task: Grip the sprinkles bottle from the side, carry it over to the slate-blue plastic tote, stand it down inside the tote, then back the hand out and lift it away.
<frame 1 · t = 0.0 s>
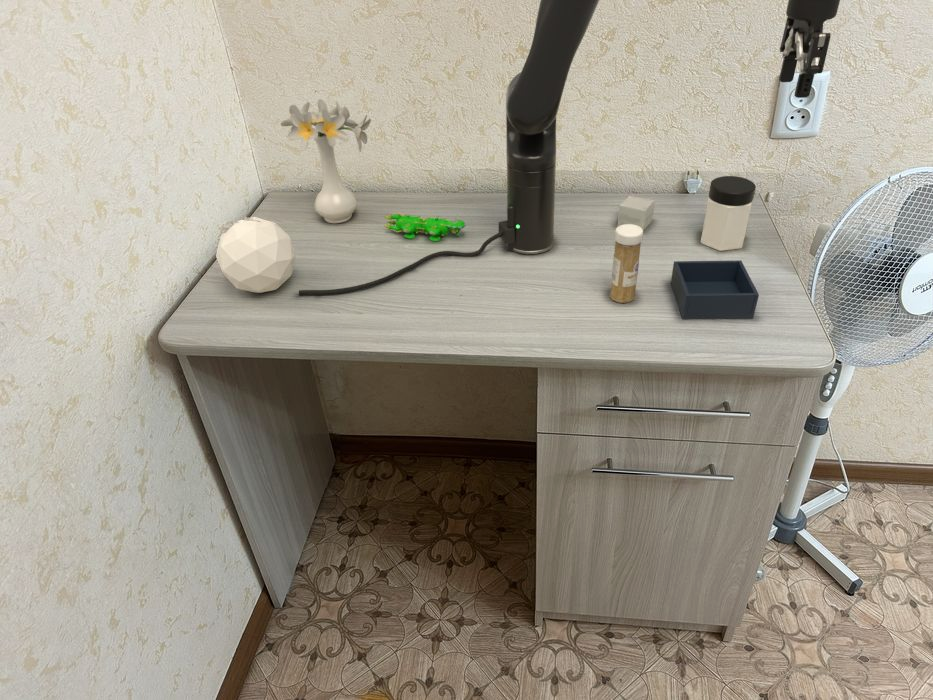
hand: (793, 89, 118), 29 cm above the table, tool pointing down, fingers open, 8 cm apart
flower vase: (341, 217, 154), on the table
geodesic sphere: (265, 287, 131), on the table
small box: (634, 224, 144), on the table
sprinkles bottle: (622, 297, 122), on the table
tote: (710, 300, 120), on the table
jar: (721, 241, 137), on the table
crocodile figurine: (425, 234, 145), on the table
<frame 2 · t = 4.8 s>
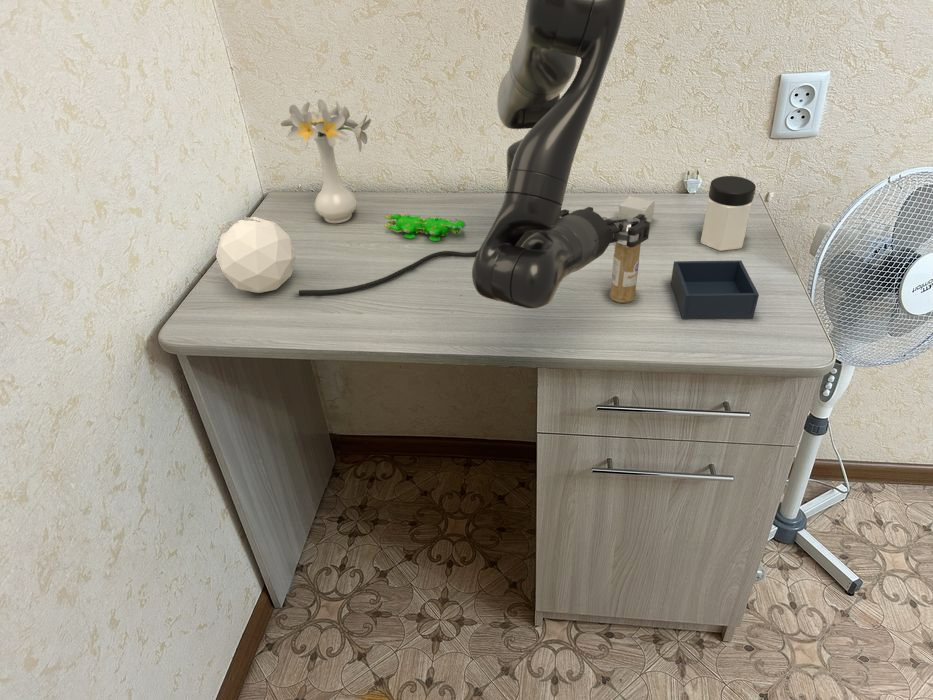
hand: (616, 216, 108), 18 cm above the table, tool horizontal, fingers open, 8 cm apart
nothing on the table moved.
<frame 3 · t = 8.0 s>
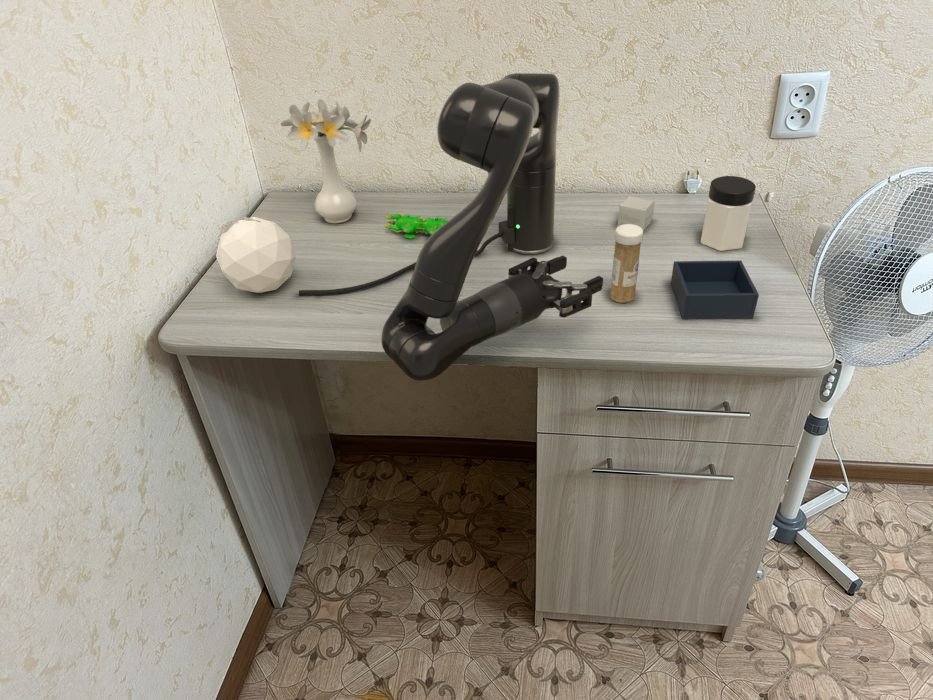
hand: (582, 271, 112), 9 cm above the table, tool horizontal, fingers open, 8 cm apart
nothing on the table moved.
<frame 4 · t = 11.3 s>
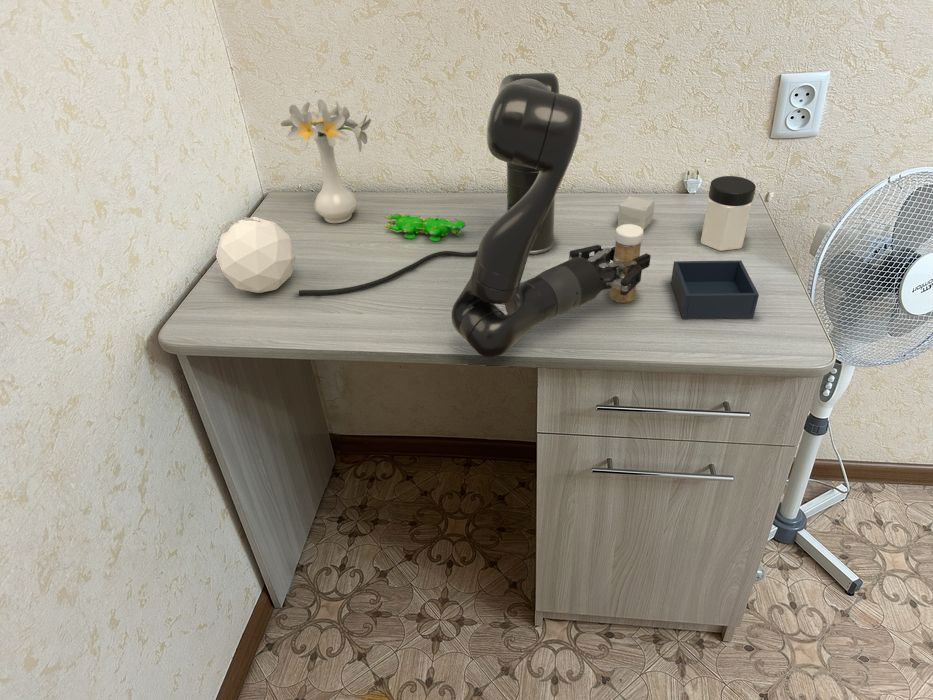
hand: (637, 253, 119), 8 cm above the table, tool horizontal, fingers closed on sprinkles bottle, 4 cm apart
sprinkles bottle: (622, 297, 122), on the table, touching gripper
everything else where it was.
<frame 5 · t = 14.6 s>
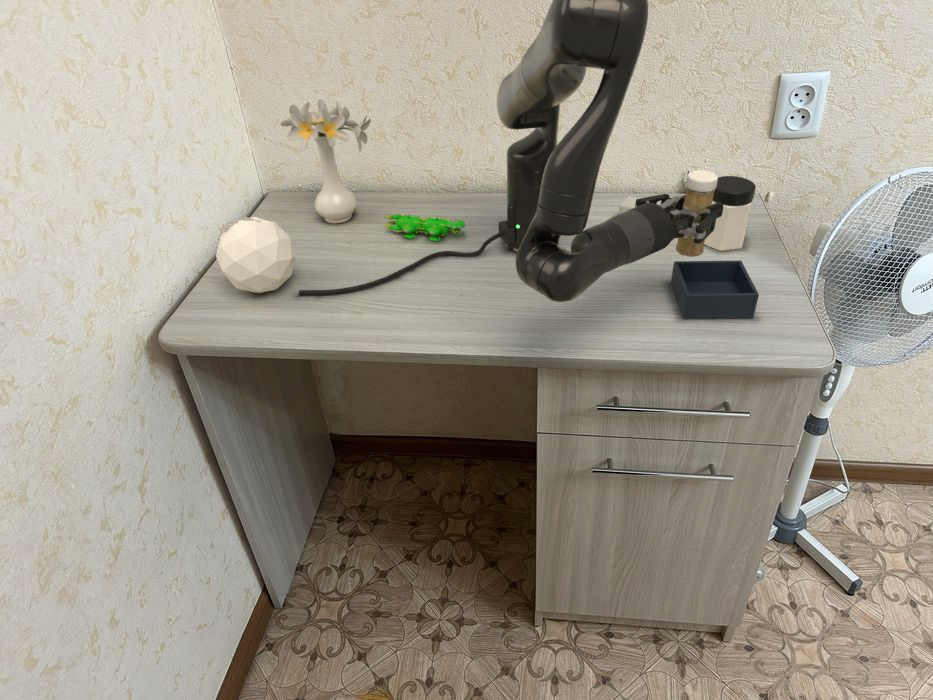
hand: (707, 203, 111), 18 cm above the table, tool horizontal, fingers closed on sprinkles bottle, 4 cm apart
sprinkles bottle: (688, 252, 115), point 10 cm above the table, touching gripper
everything else where it was.
when the fingers open (9 cm above the table, at t = 18.1 s): sprinkles bottle stays where it is, resting on tote.
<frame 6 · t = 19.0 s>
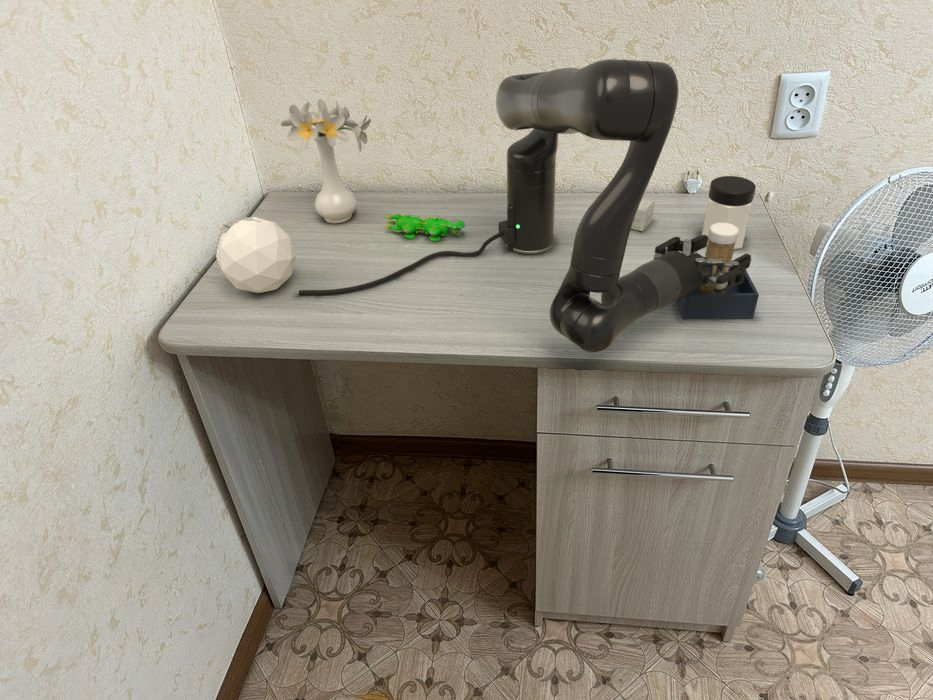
hand: (726, 249, 115), 10 cm above the table, tool horizontal, fingers open, 8 cm apart
sprinkles bottle: (710, 298, 120), point 1 cm above the table, touching tote
everything else where it was.
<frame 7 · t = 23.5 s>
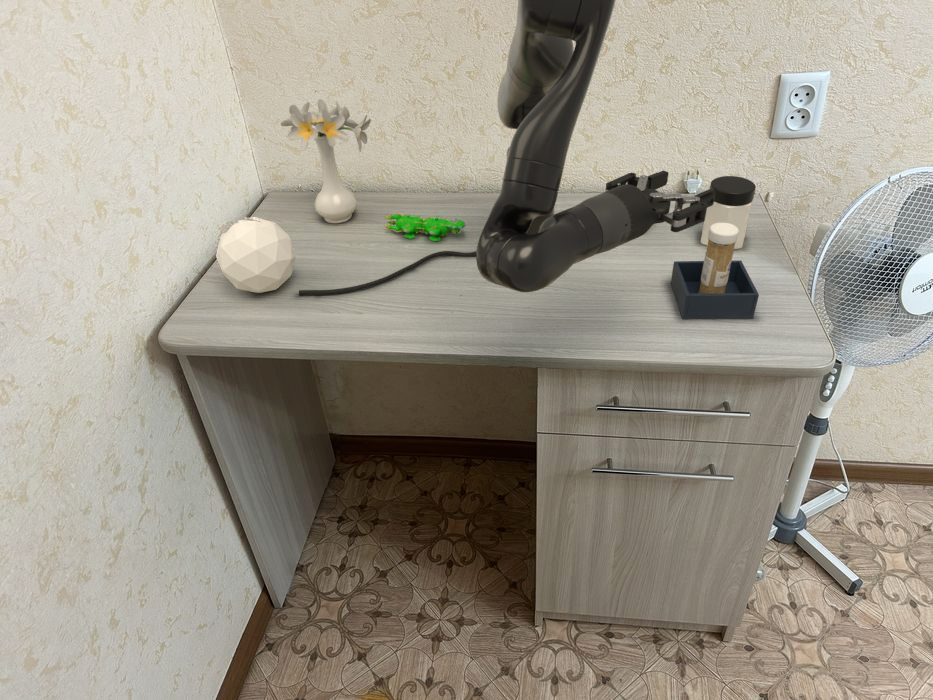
hand: (688, 186, 100), 25 cm above the table, tool horizontal, fingers open, 8 cm apart
nothing on the table moved.
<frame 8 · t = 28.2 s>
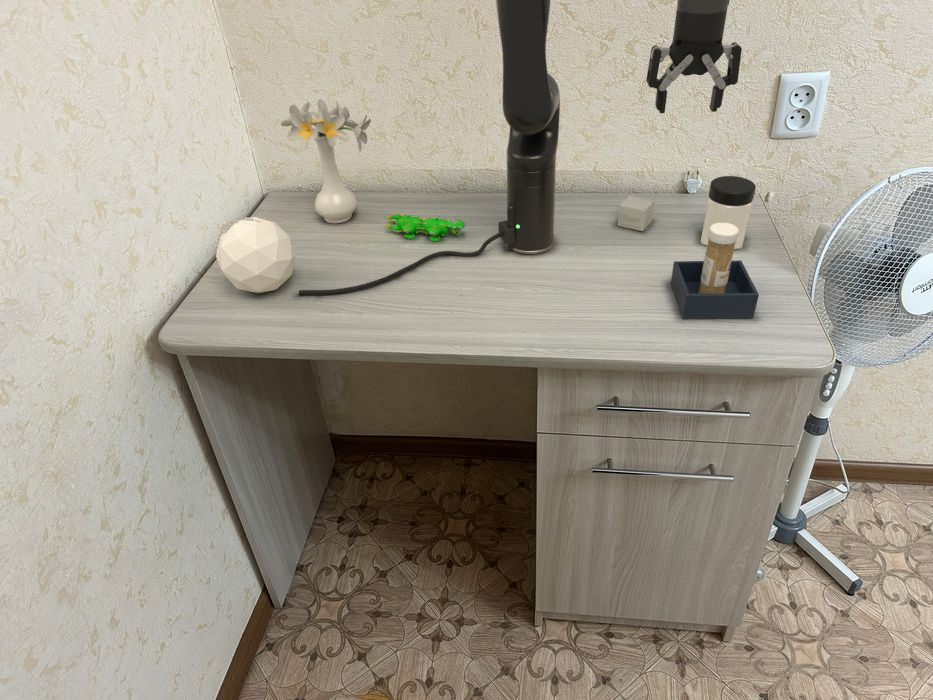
hand: (686, 111, 116), 28 cm above the table, tool pointing down, fingers open, 8 cm apart
nothing on the table moved.
at the end: sprinkles bottle inside the target area in the tote (0.1 cm from its centre), point 0.6 cm above the tote's base; sprinkles bottle tilted 0°; the gripper is holding nothing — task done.
